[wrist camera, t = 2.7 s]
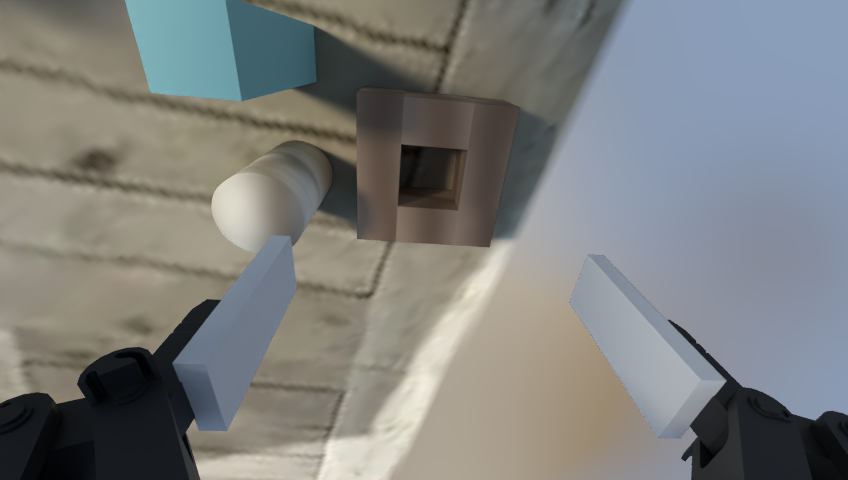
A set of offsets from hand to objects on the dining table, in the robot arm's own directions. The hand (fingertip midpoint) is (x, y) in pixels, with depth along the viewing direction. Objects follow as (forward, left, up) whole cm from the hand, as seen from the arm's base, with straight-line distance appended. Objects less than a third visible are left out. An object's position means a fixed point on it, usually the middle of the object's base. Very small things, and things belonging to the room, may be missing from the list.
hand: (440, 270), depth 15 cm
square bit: (-12, +8, -19) cm, 23 cm away
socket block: (0, 0, -19) cm, 19 cm away
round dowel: (-12, -2, -19) cm, 22 cm away
